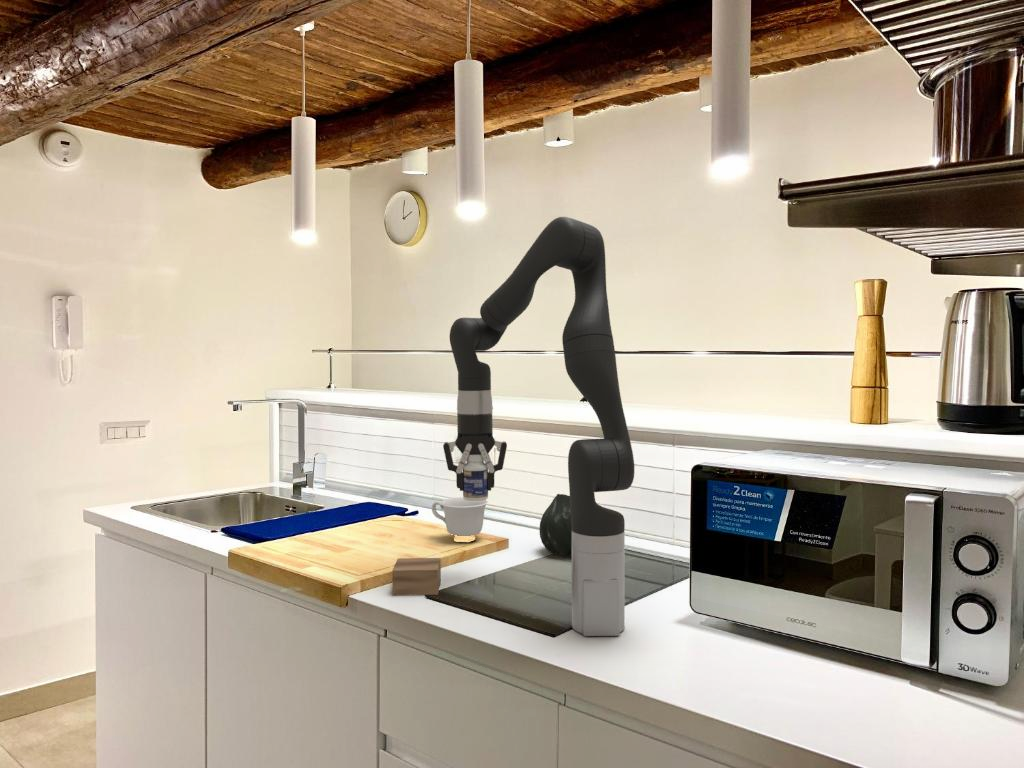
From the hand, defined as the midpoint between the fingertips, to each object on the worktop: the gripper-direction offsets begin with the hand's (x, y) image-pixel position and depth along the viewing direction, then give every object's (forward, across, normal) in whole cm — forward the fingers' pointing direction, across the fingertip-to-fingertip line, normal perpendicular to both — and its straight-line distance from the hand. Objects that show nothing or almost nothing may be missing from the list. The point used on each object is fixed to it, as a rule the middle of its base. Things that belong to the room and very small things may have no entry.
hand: (475, 489), depth 168 cm
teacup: (+19, -5, +32) cm, 37 cm away
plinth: (+19, -12, -8) cm, 24 cm away
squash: (+19, +22, +18) cm, 34 cm away
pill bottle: (+2, 0, 0) cm, 2 cm away
